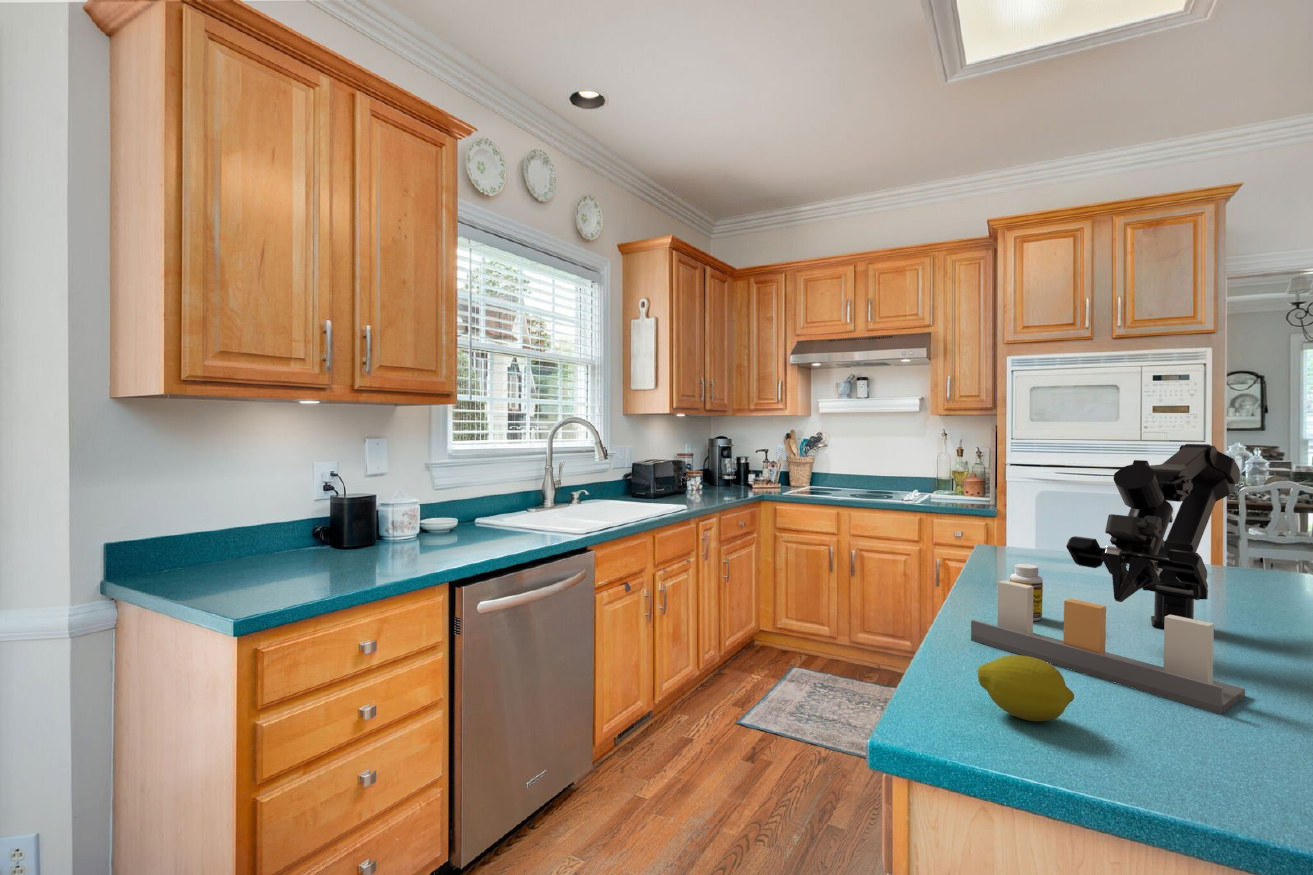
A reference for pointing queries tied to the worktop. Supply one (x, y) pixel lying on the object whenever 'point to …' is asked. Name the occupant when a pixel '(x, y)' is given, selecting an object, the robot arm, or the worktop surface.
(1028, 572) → the supplement bottle
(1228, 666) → the worktop surface
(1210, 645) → the key
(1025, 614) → the key
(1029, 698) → the lemon
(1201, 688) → the long grey base rail
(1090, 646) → the key middle
